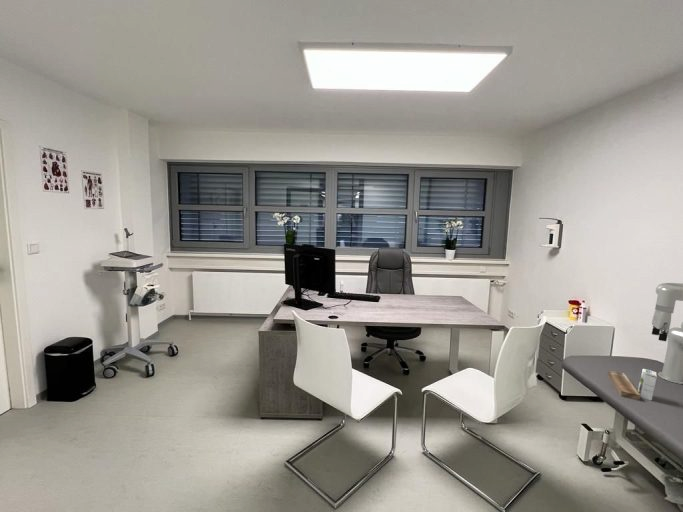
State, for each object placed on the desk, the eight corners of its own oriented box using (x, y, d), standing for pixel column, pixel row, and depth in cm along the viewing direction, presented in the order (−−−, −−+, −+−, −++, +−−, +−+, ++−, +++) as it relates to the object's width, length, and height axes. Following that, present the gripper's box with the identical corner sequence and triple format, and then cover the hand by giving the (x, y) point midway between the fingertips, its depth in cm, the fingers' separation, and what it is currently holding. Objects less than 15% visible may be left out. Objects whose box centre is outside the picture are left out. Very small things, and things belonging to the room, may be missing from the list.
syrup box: (637, 392, 185) (641, 368, 183) (651, 396, 181) (656, 371, 179) (637, 396, 180) (642, 371, 178) (652, 401, 177) (657, 375, 174)
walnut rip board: (624, 378, 200) (625, 373, 200) (639, 400, 177) (641, 395, 176) (607, 375, 203) (608, 370, 203) (620, 396, 180) (621, 390, 180)
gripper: (649, 303, 197) (644, 331, 200) (662, 311, 182) (656, 341, 185) (666, 305, 194) (661, 334, 197) (680, 314, 179) (674, 344, 181)
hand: (658, 337), depth 191 cm, fingers open, 9 cm apart
